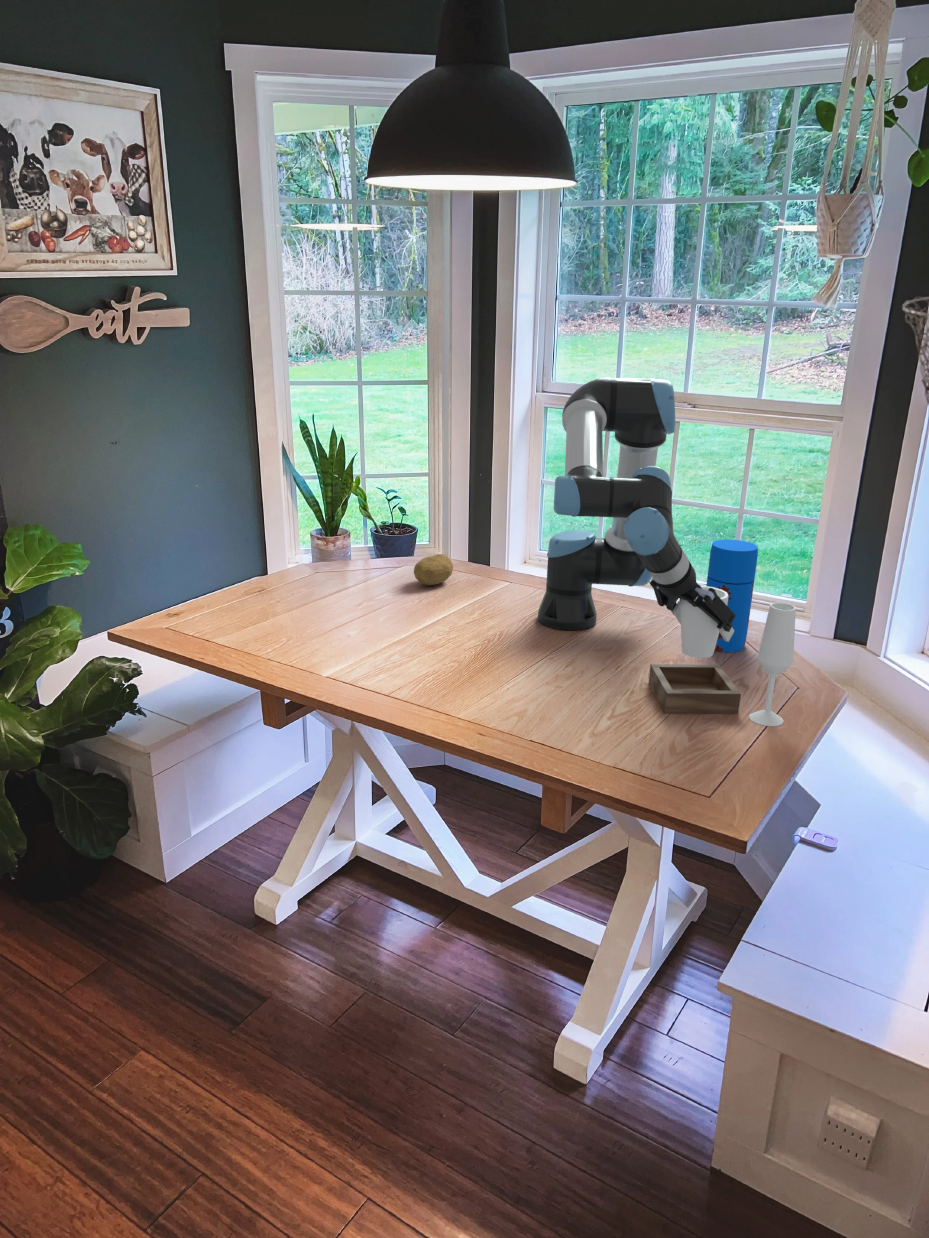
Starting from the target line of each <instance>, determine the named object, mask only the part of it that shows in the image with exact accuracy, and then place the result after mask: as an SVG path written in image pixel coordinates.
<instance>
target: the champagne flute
mask: <svg viewBox="0 0 929 1238" xmlns="http://www.w3.org/2000/svg"><path fill="white" fill-rule="evenodd" d="M796 609H797V607H796V606H795V605H793V604H791V603H787V602H779V601H778V602H777V601H776V602H772V603H769V607H768V613H767V616H766V619H765V624H764V628H763V633H762V637H761V640H760V644H759V649H758V652H757V655H756V656H757V661H758V664H759V666H760V667H761V668H762V669H763V671H765V672H766V673H767V674H768V675H769V678H768V683H767V690H766V697H765V704H764V709H761V710H757V711H754V712H751V713H750V714H749V716H748V718H749V719H750V721H752V722H754V723H755V724H756V725H757V724H758V725H761V726H765V727H779V726H781V725H783V724H784V719H783V718H782V717H781V716H780V715H778V714H777V713H775V712H774V711H772V710H771V709H772V704H773V696H774V691H775V690H774V689H775V684H776V676H780V675H781V674H782V673H784V672H786V671H787V670H789V668H791V666H792V665H793V663H794V652H795V649H794V648H795V631H796V612H797V610H796Z"/></svg>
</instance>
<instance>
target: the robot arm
mask: <svg viewBox="0 0 929 1238" xmlns="http://www.w3.org/2000/svg"><path fill="white" fill-rule="evenodd" d="M674 390H675V389H674V386H673V384H672V382H671V381H669V380H667V379H655V378H653V377H651V378H621V377H620V378H619V377H616V378H615V377H614V378H613V377H600V378H596V379H593V380H590V381H588V382H586V383H584V384H583V385H581V386H579V388H577V389H576V390H575V391H574V392H573V393H572V394H571V395H570V397H568V399H567V401H566V402H565V405H564V407H563V410H562V416H561V417H562V418H561V421H562V423H561V424H562V427H563V430H564V431H565V433H566V434H565V437H566V438H565V460H564V462H565V463H564V475H558V476H557V477H555V480H554V496H553V499H554V500H553V512H554V513H556V514H557V515H559V516H560V515H561V516H568V517H569V516H571V517H589V518H591V517H594V518H595V517H597V518H612V521H611V522H612V523H611V527H610V528H608V529H607V530H606V531H605V534H604V537H599V538H598V537H597V535H596V532H594V531H591V530H585V529H575V530H574V529H573V530H567V531H566V530H565V531H562V532H559V533H555V534H554V535H552V536H551V537H550V539H549V542H548V548H547V549H548V550H547V552H546V556H547V566H546V567H547V568H546V582H545V583H546V587H545V593H544V595H543V597H542V599H541V600H542V601H541V603H540V605H539V607H538V611H537V621H538V622H539V623H540V624H541V625H543V626H545V627H549V628H550V629H556V630H561V631H562V630H563V631H581V630H587V629H590V628H592V627H593V626H595V625H596V624H597V614H598V613H597V611H596V607H595V603H594V599H593V594H592V590H593V589H592V587H593V585H607V586H608V585H609V586H628V587H640V586H641V587H642V586H643V587H644V586H645V585H647V584H649V585H650V586H651V587H652V589H653V591H654V595H655V598H656V602H657V604H658V605H659V606H660V607H666V609H667V610H668V611H671V614H672V615H673V616H674V617H675V618H676V620H677V621H678V623H679V624H680V625H681V606H680V601H679V599H683V600H686V601H687V602H689V603H690V604H691V605H692V606H693V607H698V608H700V609H701V610H702V611H703V612H704V613H706V614H707V615H708V616H709V617H710V618H712V619H713V620H714V621H715V622H716V624H715V625H716V627H717V629H718V630H719V632H720V634H721V635H722V637H723V638H724V640H725V641H727V642H729V640H730V638H731V636H732V635H733V633H734V629H733V628H732V622H733V620H734V618H735V617H736V615H735V614H734V613H733V612H732V611H731V610H730V609H729V607H728V606H727V605H726V604H725V603H724V602H723V601H722V600H721V599H720V597H719V596H718V595H717V593H716V591H715V590H714V589H713V588H709V590H708V591H707V590H704V589H702V588H701V586H702V585H701V584H699V583H698V582H697V573H696V570H695V568H694V567H693V565H692V563H691V561H690V559H689V558H688V556H687V554H686V553H685V551H684V550H683V548H682V547H681V544H680V543H679V541H678V540H677V538H676V536H675V533H674V519H673V508H672V507H673V505H672V504H673V503H672V501H673V500H672V499H673V490H672V483H671V477H670V475H669V473H668V472H667V471H666V470H665V469H663V468H661V467H659V466H657V459H658V451H659V448H660V447H661V446H662V445H664V444H665V443H666V440H667V436H668V435H671V434H674V432H675V431H676V430H675V429H676V404H675V403H676V402H675V391H674ZM603 432H614V439H615V441H616V442H617V443H618V444H619V455H618V462H617V463H618V465H617V474H616V477H608V476H607V477H605V476H604V457H603V456H604V453H603V451H604V449H603V448H604V447H603ZM696 598H697V599H696ZM695 599H696V601H694V600H695Z"/></svg>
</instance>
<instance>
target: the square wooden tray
mask: <svg viewBox="0 0 929 1238" xmlns="http://www.w3.org/2000/svg"><path fill="white" fill-rule="evenodd" d="M649 667H650V668H649V675H648V676H649V677H648V684H649V685H648V686H649V687H650V688H651V690H652V693H654V696H655V697H656V700H657V701H658V704H659V705H660V706H661V709H662V710H663V712H664V714H665V715H668V714H672V715H675V714H677V715H680V714H681V715H682V714H685V715H686V714H687V715H688V714H689V715H691V714H692V715H701V714H702V715H704V714H705V715H709V714H710V715H713V714H714V715H722V714H723V715H731V714H732V715H734V714H735V715H736V714H737V715H738V714H739V712H740V704H741V695H742V694H741V692H740V690H739V689H738V688H737V686H736V685H735V684H734V683H733V681H732V680H731V679H730V677H729V676H728V675H727V673H726V672H725V671H724V669H723V668H722V667H721V666H720V664H689V663H688V664H683V663H682V664H681V663H680V664H675V663H674V664H672V663H671V664H666V663H665V664H664V663H662V664H659V663H657V664H656V663H655V664H654V663H653V664H652V663H651V664H650V666H649Z"/></svg>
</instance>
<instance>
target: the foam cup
mask: <svg viewBox="0 0 929 1238" xmlns="http://www.w3.org/2000/svg"><path fill="white" fill-rule="evenodd" d="M700 586H701V588H702V589H704V590H707V591H708V590H709V588H713V589H714V590H715V591H716V593H717V595H718V596H719V597H720V599H721V600H722V601H723V602H724V603H725V604H726V605H727V603H728V593H727V592H725V591H723V590H721V589H718V588H714V587H708V586H706V585H700ZM696 599H697V598H696ZM696 599H695V600H694V601H696ZM678 601H680V606H681V624H680V630H681V631H680V632H681V633H680V635H681V636H680V637H681V653H683V655H685V656H686V657H687V656H688V657H690V658H695V659H709V658H711V657H713V655H714V653H715V646H716V642H717V639H718V635H719V630H718V629H717V627H716V625H715V624H716V622H715V621H714V620H713V619H712V618H710V617H709V616H708V615H707V614H706V613H704V612H703V611H702V610H701V609H700V608H698V607H693V606H692V605H691V604H690V603H689V602H687V601H686V600H683V599H680V598H678Z"/></svg>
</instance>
